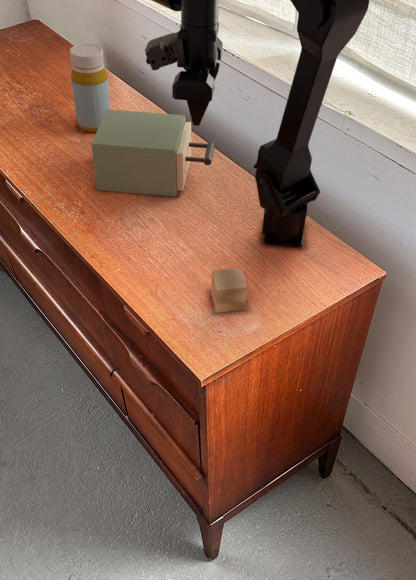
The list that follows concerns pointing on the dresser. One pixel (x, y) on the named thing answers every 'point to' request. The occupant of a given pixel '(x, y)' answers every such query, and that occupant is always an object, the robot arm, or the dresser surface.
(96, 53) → the bottle
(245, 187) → the dresser surface
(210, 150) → the drawer
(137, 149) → the cabinet
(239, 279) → the block
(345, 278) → the dresser surface
